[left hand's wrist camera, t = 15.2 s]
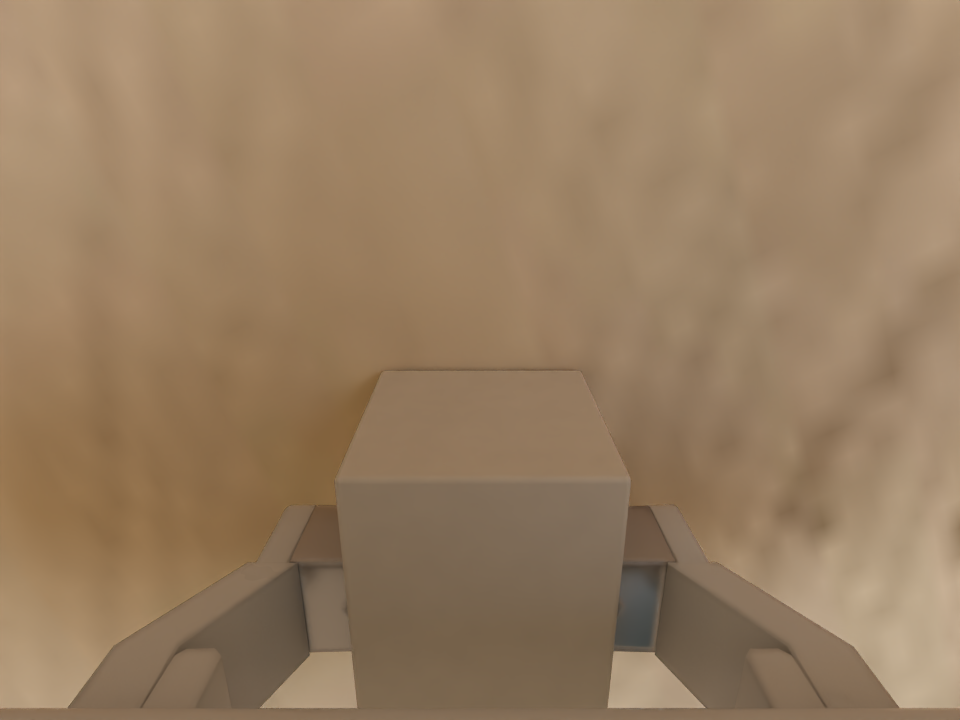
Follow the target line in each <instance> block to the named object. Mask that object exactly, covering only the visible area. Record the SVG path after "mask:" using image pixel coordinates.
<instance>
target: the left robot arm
mask: <svg viewBox="0 0 960 720" xmlns="http://www.w3.org/2000/svg"><path fill="white" fill-rule="evenodd" d="M334 651H352V650H351V640H350V630H349V620H348V611H347V601H346V591H345V581H344V571H343V562H342V552H341V542H340V532H339V522H338V513H337V505H318V506H316V505H290V506H288V507H287V508H286V509H285V510H284V512H283V514H282V516H281V518H280V520H279V521H278V523H277V525H276V527H275V529H274V530H273V532H272V534H271V536H270V538H269V540H268V541H267V543H266V545H265V547H264V549H263V551H262V552H261V554H260V556H259V558H258V560H257V561H256V563H246V564H245V565H243V566H241V567H240V568H238V569H237V570H235V571H233V572H232V573H230V574H229V575H227V576H225V577H224V578H222V579H220V580H219V581H217V582H216V583H214V584H212V585H211V586H209V587H208V588H206V589H204V590H203V591H201V592H200V593H198V594H196V595H195V596H193V597H192V598H190V599H188V600H187V601H185V602H184V603H182V604H180V605H179V606H177V607H175V608H174V609H172V610H171V611H169V612H167V613H166V614H164V615H163V616H161V617H159V618H158V619H156V620H155V621H153V622H151V623H150V624H148V625H147V626H145V627H143V628H142V629H140V630H139V631H137V632H135V633H134V634H132V635H130V636H129V637H127V638H126V639H124V640H122V641H121V642H119V643H118V644H116V645H114V646H113V648H112V649H111V650H110V652H109V653H108V654H107V656H106V657H105V658H104V660H103V661H102V662H101V664H100V665H99V666H98V668H97V669H96V670H95V672H94V673H93V674H92V676H91V677H90V678H89V680H88V681H87V683H86V684H85V685H84V687H83V688H82V689H81V691H80V692H79V693H78V695H77V696H76V697H75V699H74V700H73V701H72V703H71V704H70V705H69V707H68V708H0V720H960V708H899V707H898V705H897V704H896V703H895V701H894V700H893V699H892V697H891V696H890V695H889V693H888V692H887V691H886V689H885V688H884V687H883V685H882V684H881V683H880V681H879V680H878V679H877V677H876V676H875V675H874V673H873V672H872V671H871V669H870V668H869V667H868V665H867V664H866V663H865V661H864V660H863V659H862V657H861V656H860V655H859V653H858V652H857V651H856V649H855V648H854V647H853V646H851V645H850V644H848V643H847V642H845V641H843V640H842V639H840V638H838V637H837V636H835V635H834V634H832V633H830V632H829V631H827V630H826V629H824V628H822V627H821V626H819V625H817V624H816V623H814V622H813V621H811V620H809V619H808V618H806V617H805V616H803V615H801V614H800V613H798V612H796V611H795V610H793V609H792V608H790V607H788V606H787V605H785V604H784V603H782V602H780V601H779V600H777V599H775V598H774V597H772V596H771V595H769V594H767V593H766V592H764V591H763V590H761V589H759V588H758V587H756V586H754V585H753V584H751V583H750V582H748V581H746V580H745V579H743V578H742V577H740V576H738V575H737V574H735V573H733V572H732V571H730V570H729V569H727V568H725V567H724V566H722V565H721V564H719V563H709V561H708V560H707V558H706V556H705V554H704V553H703V551H702V549H701V547H700V545H699V544H698V542H697V540H696V538H695V537H694V535H693V533H692V531H691V530H690V528H689V526H688V524H687V523H686V521H685V519H684V517H683V516H682V514H681V512H680V510H679V509H678V507H677V506H675V505H647V506H629V507H628V517H627V526H626V536H625V545H624V555H623V564H622V574H621V583H620V593H619V602H618V612H617V621H616V631H615V641H614V650H613V651H630V652H655V655H656V656H657V657H658V658H659V659H660V660H661V661H662V662H663V664H664V665H665V666H666V667H667V668H668V669H669V670H670V671H671V672H672V673H673V674H674V675H675V676H676V677H677V678H678V679H679V680H680V681H681V682H682V683H683V684H684V685H685V686H686V687H687V689H688V690H689V691H690V692H691V693H692V694H693V695H694V696H695V697H696V698H697V699H698V700H699V701H700V702H701V703H702V704H703V705H704V706H705V707H706V708H260V707H261V706H262V705H263V704H264V702H265V701H266V700H267V699H268V698H269V697H270V696H271V695H272V694H273V693H274V692H275V691H276V690H277V689H278V688H279V687H280V686H281V685H282V684H283V683H284V682H285V680H286V679H287V678H288V677H289V676H290V675H291V674H292V673H293V672H294V671H295V670H296V669H297V668H298V667H299V666H300V665H301V664H302V663H303V662H304V661H305V660H306V658H307V657H308V656H309V655H310V654H309V652H334Z"/></svg>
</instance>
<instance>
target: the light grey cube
mask: <svg viewBox="0 0 960 720" xmlns="http://www.w3.org/2000/svg"><path fill="white" fill-rule="evenodd" d="M334 483H335V493H336V503H337V513H338V522H339V532H340V542H341V552H342V562H343V571H344V581H345V591H346V601H347V611H348V620H349V630H350V640H351V650H352V660H353V669H354V679H355V689H356V699H357V708H607V707H608V698H609V688H610V679H611V669H612V660H613V650H614V641H615V631H616V621H617V612H618V602H619V593H620V583H621V574H622V564H623V555H624V545H625V536H626V526H627V517H628V507H629V498H630V488H631V478H630V476H629V474H628V471H627V469H626V467H625V465H624V463H623V461H622V459H621V456H620V454H619V452H618V450H617V448H616V446H615V443H614V441H613V439H612V437H611V435H610V433H609V430H608V428H607V426H606V424H605V422H604V420H603V417H602V415H601V413H600V411H599V409H598V407H597V404H596V402H595V400H594V398H593V396H592V394H591V392H590V389H589V387H588V385H587V383H586V381H585V379H584V376H583V374H582V372H581V371H578V370H538V371H383V372H381V374H380V377H379V379H378V381H377V384H376V386H375V388H374V390H373V393H372V395H371V397H370V400H369V402H368V404H367V407H366V409H365V411H364V413H363V416H362V418H361V420H360V423H359V425H358V427H357V429H356V432H355V434H354V436H353V439H352V441H351V443H350V446H349V448H348V450H347V452H346V455H345V457H344V459H343V462H342V464H341V466H340V468H339V471H338V473H337V475H336V478H335V480H334Z"/></svg>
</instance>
